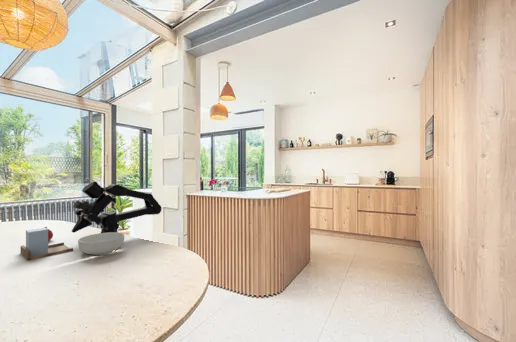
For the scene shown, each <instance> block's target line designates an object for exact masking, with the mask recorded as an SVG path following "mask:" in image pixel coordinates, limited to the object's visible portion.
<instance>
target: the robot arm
mask: <svg viewBox="0 0 516 342" xmlns="http://www.w3.org/2000/svg"><path fill="white" fill-rule="evenodd" d="M81 191H82V193H83V194H85V195H86V196H88V197H89V198H90V199H91V200H93V199H94V200H95V201H93V202H89V201H87V200H83V201H78V200H75V202H74V204H73V206H72V208H74V209H76V210H75V211H74V212H73V213H74V214H75V215H76V217H77V220H76V223H75V225H73V227H72V229H71V233H76V232H79V231H81V230H82V229H85V228H87V227H90V226H93V223H95V225H97V226H99V227H100V229H101V232H100V233H108V232H118V229H119V227H120V224H119V222H121V221H122V222H123V221H125V220H130V219H135V218H137V217H143V216H147V215H149V216H151V215H159V214H161V212H162V206H161V204H160V203H159V202H158V201H157V200H156V198H155V197H154V195H153V194H152V193H147V192H142V191H138V190H133V189H129V188H127V187H125V186H122V185H120V184H113V183H111V184H108V186H106V187H103V186H101V184H99V183H98V182H97V181H95V180H94V181H91V182H90V183H88V184H87V185H85V186H84V187H83V188H82V189H81ZM113 196H114V197H113ZM116 197H131V198H135V199H141V200H143V202H144V205H145V206H143V207H141V208H140V207H139V208H136V209H131V210H127V211H123V212H118V213H117V212H116V211H112V210H110V211H108V212H105V209H106V208H107V207H108V206H109V205H111V203H112V204H117V198H116Z"/></svg>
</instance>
